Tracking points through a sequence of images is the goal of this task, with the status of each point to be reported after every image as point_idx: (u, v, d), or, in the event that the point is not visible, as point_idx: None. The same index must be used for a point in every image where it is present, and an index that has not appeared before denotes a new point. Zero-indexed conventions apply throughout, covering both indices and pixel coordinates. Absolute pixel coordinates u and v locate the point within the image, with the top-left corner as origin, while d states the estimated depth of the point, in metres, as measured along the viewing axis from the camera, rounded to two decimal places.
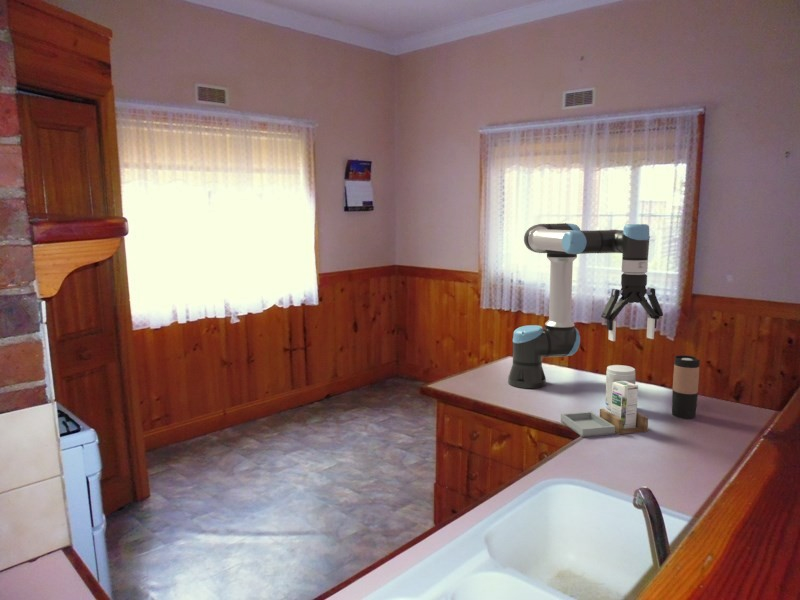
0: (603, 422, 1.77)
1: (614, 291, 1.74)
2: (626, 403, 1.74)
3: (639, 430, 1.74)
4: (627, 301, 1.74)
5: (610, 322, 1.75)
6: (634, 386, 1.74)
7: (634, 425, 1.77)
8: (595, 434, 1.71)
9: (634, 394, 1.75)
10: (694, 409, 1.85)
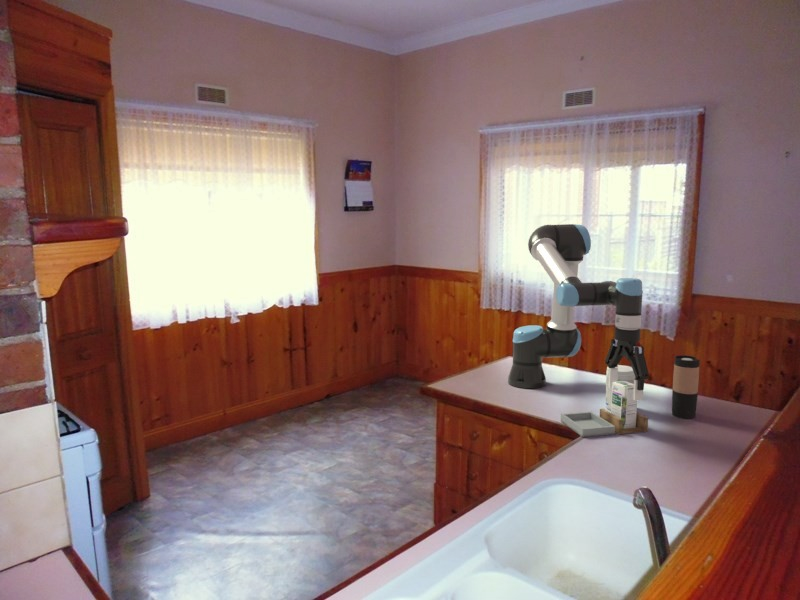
0: (603, 422, 1.77)
1: None
2: (626, 403, 1.74)
3: (639, 430, 1.74)
4: (616, 352, 1.78)
5: None
6: None
7: (634, 425, 1.77)
8: (595, 434, 1.71)
9: None
10: (694, 409, 1.85)
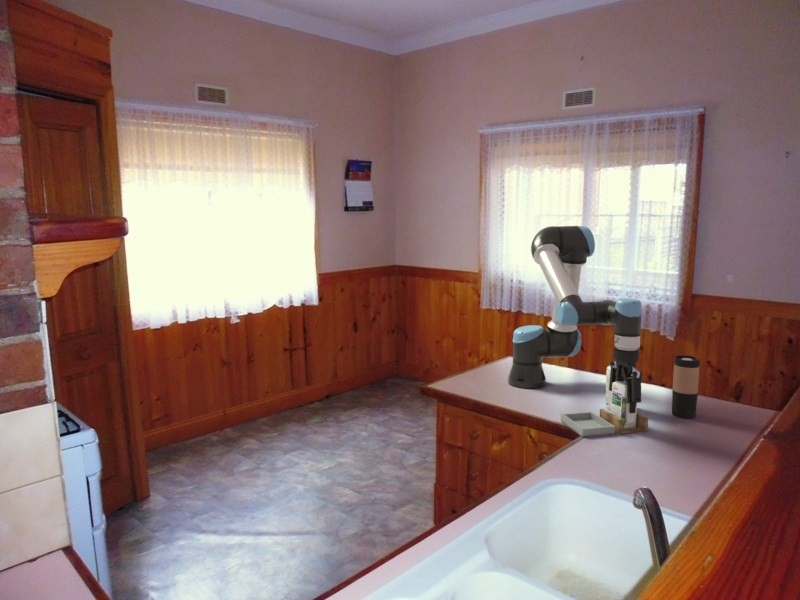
0: (603, 422, 1.77)
1: None
2: None
3: (639, 430, 1.74)
4: (616, 374, 1.78)
5: None
6: None
7: (634, 425, 1.77)
8: (595, 434, 1.71)
9: None
10: (694, 409, 1.85)
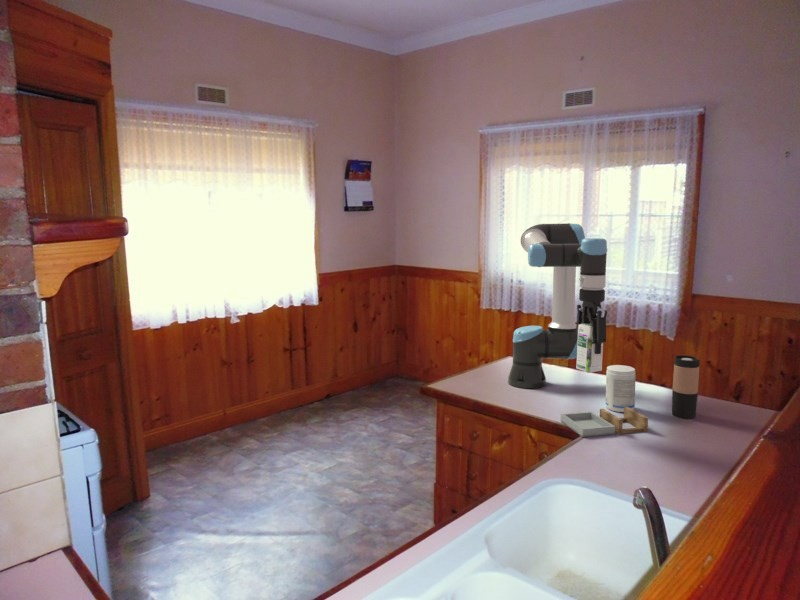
0: (603, 422, 1.77)
1: None
2: (591, 344, 1.71)
3: (639, 430, 1.74)
4: (582, 316, 1.75)
5: None
6: None
7: (600, 368, 1.74)
8: (595, 434, 1.71)
9: None
10: (694, 409, 1.85)
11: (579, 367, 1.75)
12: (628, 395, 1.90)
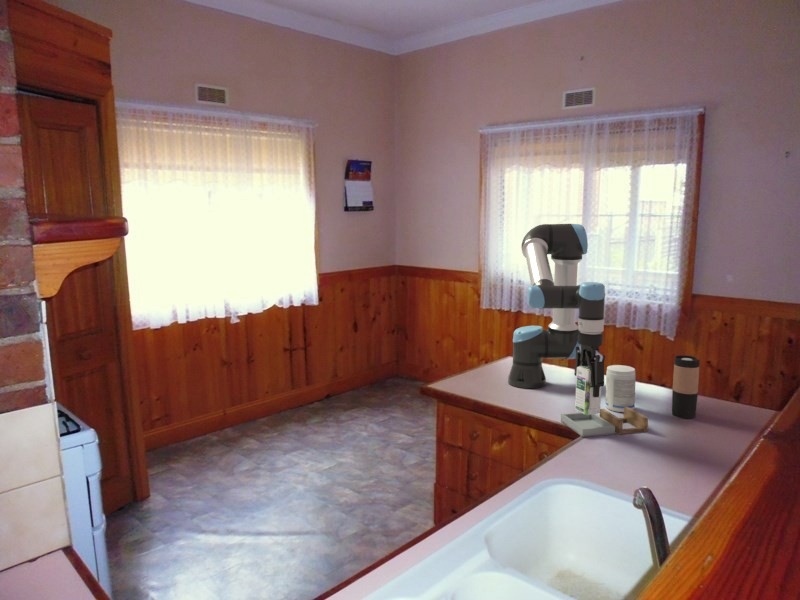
0: (603, 422, 1.77)
1: None
2: (589, 387, 1.73)
3: (639, 430, 1.74)
4: (581, 359, 1.77)
5: None
6: None
7: (598, 410, 1.75)
8: (595, 434, 1.71)
9: None
10: (694, 409, 1.85)
11: (578, 409, 1.77)
12: (628, 395, 1.90)
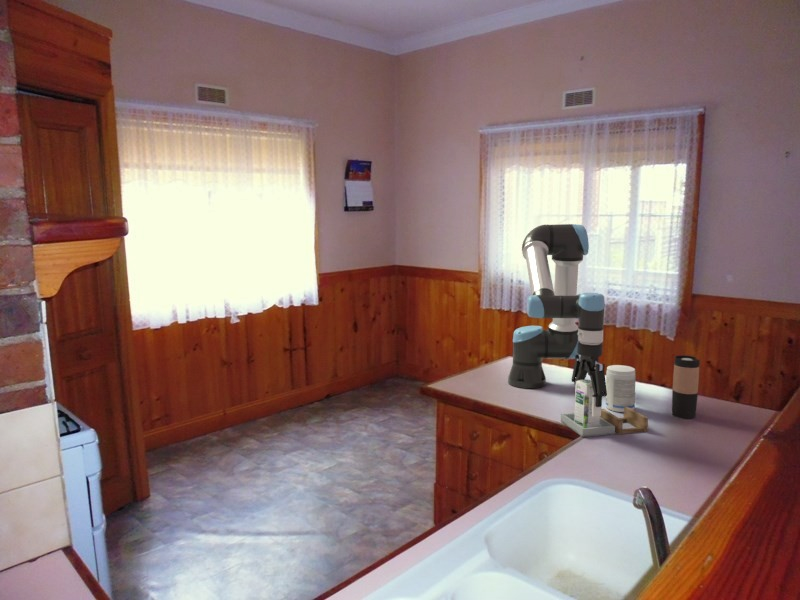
0: (603, 422, 1.77)
1: None
2: (588, 401, 1.74)
3: (639, 430, 1.74)
4: (579, 368, 1.78)
5: None
6: None
7: (597, 424, 1.76)
8: (595, 434, 1.71)
9: None
10: (694, 409, 1.85)
11: (577, 423, 1.78)
12: (628, 395, 1.90)
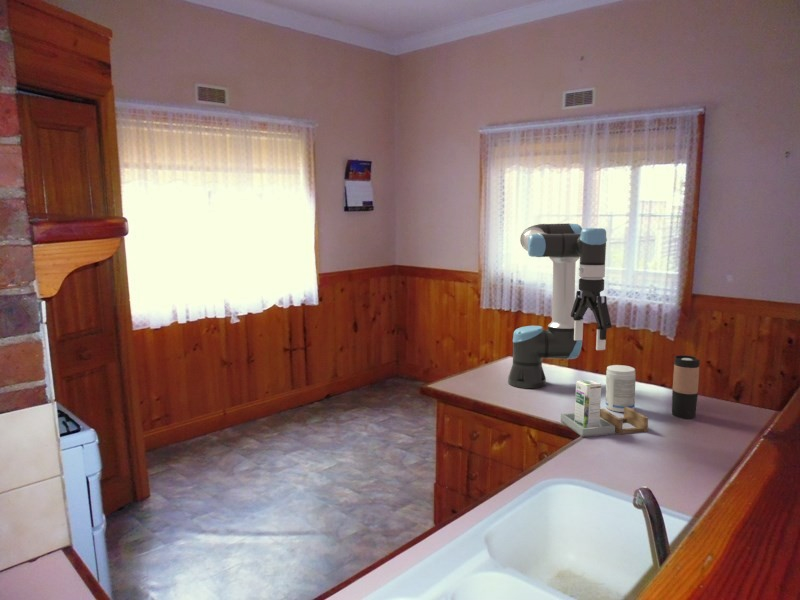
0: (603, 422, 1.77)
1: None
2: (588, 401, 1.74)
3: (639, 430, 1.74)
4: (580, 304, 1.76)
5: (575, 321, 1.82)
6: (597, 385, 1.74)
7: (597, 424, 1.76)
8: (595, 434, 1.71)
9: (597, 393, 1.75)
10: (694, 409, 1.85)
11: (577, 423, 1.78)
12: (628, 395, 1.90)
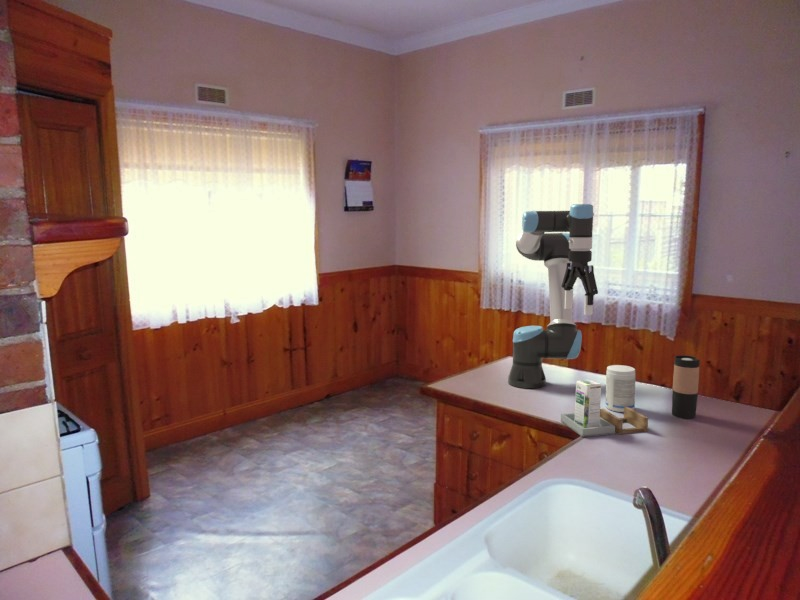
0: (603, 422, 1.77)
1: None
2: (588, 401, 1.74)
3: (639, 430, 1.74)
4: (570, 274, 1.93)
5: None
6: (597, 385, 1.74)
7: (597, 424, 1.76)
8: (595, 434, 1.71)
9: (597, 393, 1.75)
10: (694, 409, 1.85)
11: (577, 423, 1.78)
12: (628, 395, 1.90)
